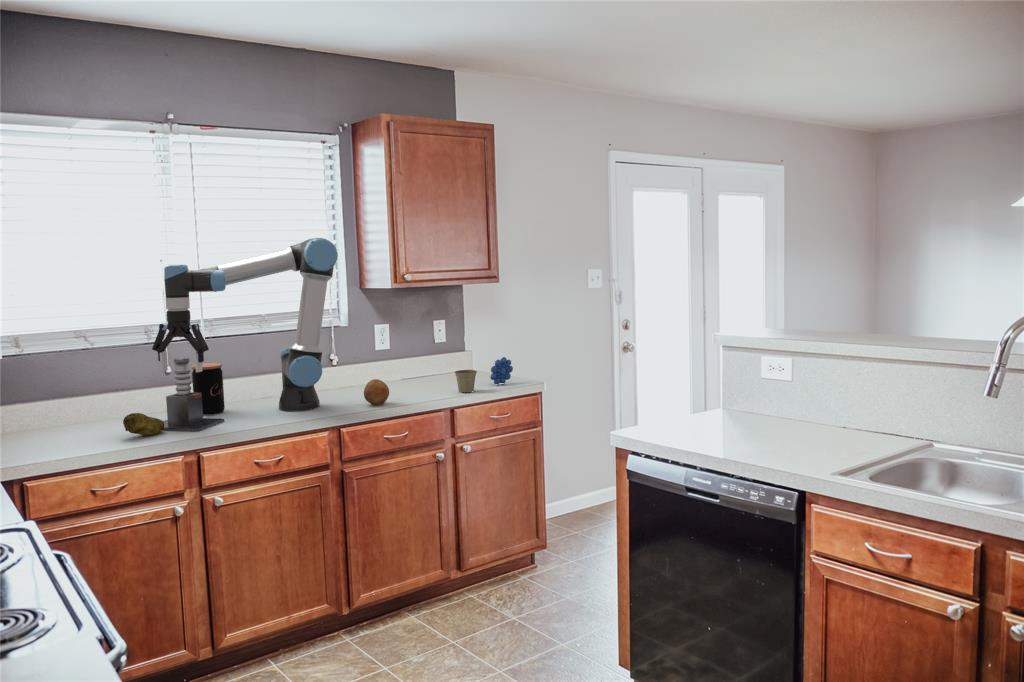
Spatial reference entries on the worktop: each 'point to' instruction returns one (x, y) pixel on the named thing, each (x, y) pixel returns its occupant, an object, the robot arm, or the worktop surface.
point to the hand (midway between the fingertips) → (181, 371)
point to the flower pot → (466, 380)
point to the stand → (187, 413)
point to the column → (182, 376)
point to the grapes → (501, 371)
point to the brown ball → (376, 392)
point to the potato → (142, 424)
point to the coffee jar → (209, 387)
